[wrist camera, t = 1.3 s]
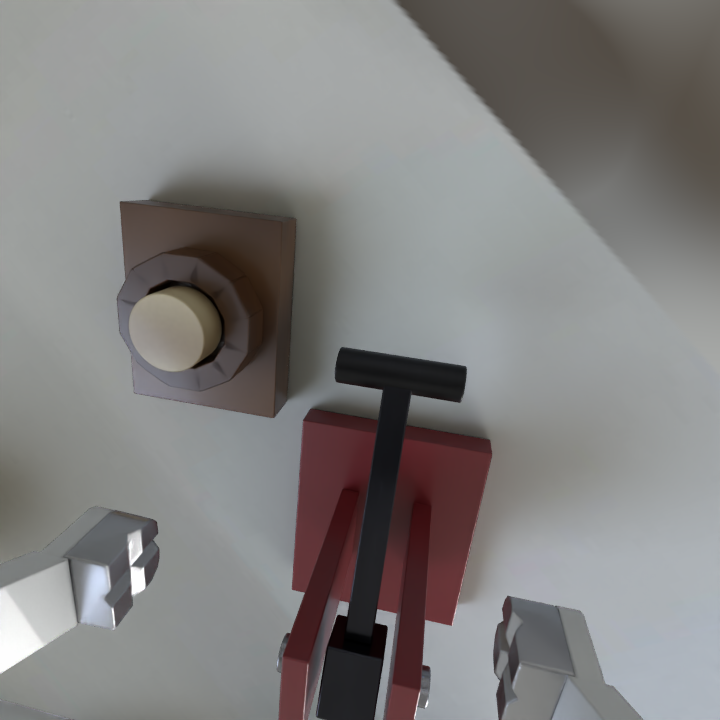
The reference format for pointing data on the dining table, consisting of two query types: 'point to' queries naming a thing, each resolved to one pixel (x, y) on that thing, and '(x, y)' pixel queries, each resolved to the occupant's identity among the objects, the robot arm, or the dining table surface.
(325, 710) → the lever
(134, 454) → the dining table surface
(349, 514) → the bracket
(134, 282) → the control block
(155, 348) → the button
